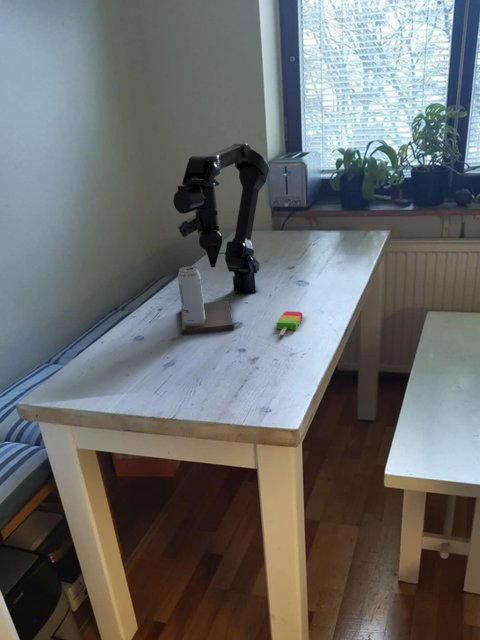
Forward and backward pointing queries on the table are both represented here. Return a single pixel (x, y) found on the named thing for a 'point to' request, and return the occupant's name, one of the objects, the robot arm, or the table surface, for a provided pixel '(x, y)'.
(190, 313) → the energy drink can
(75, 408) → the table surface
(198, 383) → the table surface
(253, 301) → the table surface
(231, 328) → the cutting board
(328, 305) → the table surface
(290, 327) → the popsicle
